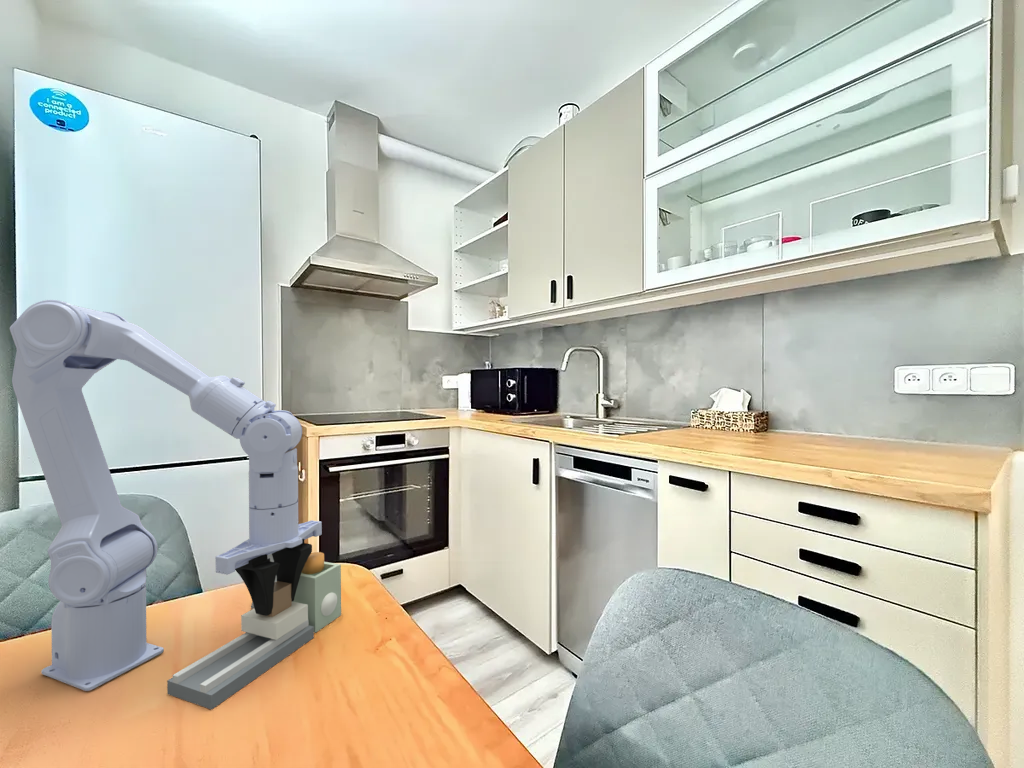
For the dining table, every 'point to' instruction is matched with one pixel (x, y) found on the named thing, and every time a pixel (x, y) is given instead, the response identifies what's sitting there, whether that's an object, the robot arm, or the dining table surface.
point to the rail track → (234, 666)
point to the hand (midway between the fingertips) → (275, 606)
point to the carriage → (276, 615)
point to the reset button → (314, 563)
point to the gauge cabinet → (321, 595)
